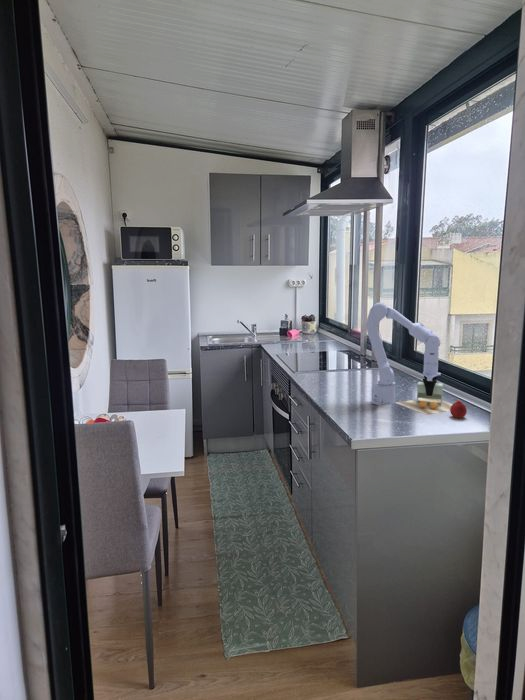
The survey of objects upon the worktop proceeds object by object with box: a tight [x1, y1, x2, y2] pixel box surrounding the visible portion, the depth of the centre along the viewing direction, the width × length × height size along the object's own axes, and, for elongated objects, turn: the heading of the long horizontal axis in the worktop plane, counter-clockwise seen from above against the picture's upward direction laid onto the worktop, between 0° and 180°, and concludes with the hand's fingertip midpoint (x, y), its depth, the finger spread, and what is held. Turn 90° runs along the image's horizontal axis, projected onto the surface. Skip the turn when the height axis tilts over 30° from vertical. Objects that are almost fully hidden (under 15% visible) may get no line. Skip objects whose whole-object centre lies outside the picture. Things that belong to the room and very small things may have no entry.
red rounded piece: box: [449, 399, 467, 419], centre depth 175 cm, size 6×6×8 cm
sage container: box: [416, 381, 444, 402], centre depth 194 cm, size 10×6×7 cm, turn 68°
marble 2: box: [430, 401, 437, 409], centre depth 187 cm, size 3×3×3 cm
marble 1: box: [420, 401, 427, 408], centre depth 188 cm, size 3×3×3 cm
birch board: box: [395, 398, 454, 416], centre depth 192 cm, size 20×19×1 cm
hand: (429, 393), depth 194 cm, fingers closed on sage container, 6 cm apart
